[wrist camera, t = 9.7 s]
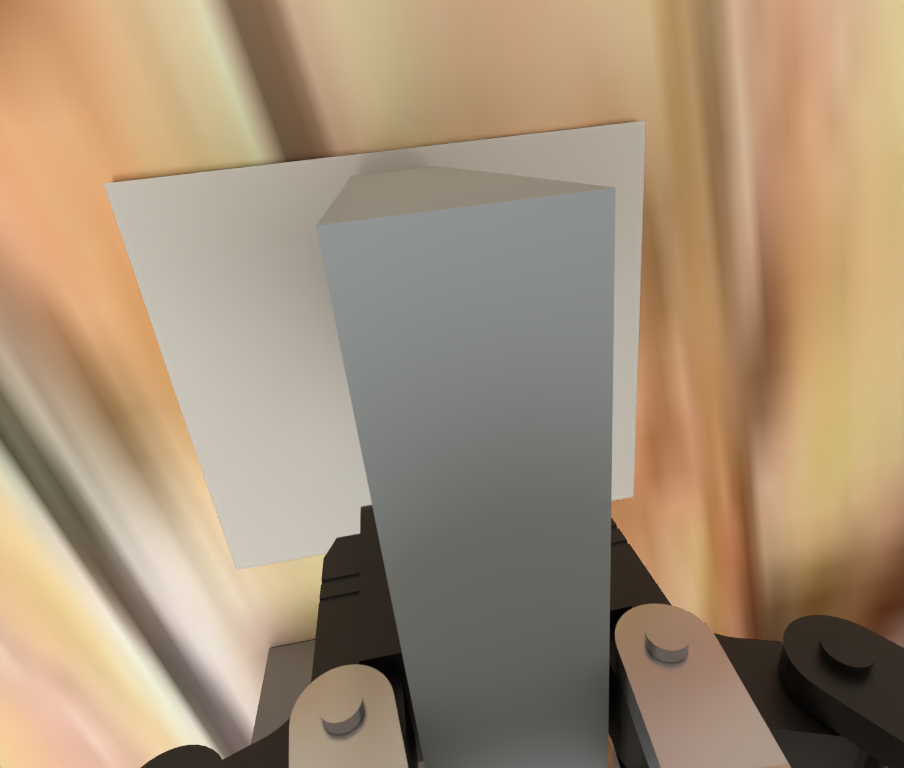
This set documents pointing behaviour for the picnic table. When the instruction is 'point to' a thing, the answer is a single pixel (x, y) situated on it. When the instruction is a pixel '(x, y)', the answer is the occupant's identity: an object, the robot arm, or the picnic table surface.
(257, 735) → the rack
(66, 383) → the picnic table surface
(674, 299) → the picnic table surface
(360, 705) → the robot arm
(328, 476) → the mat
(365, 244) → the grey flat slab
